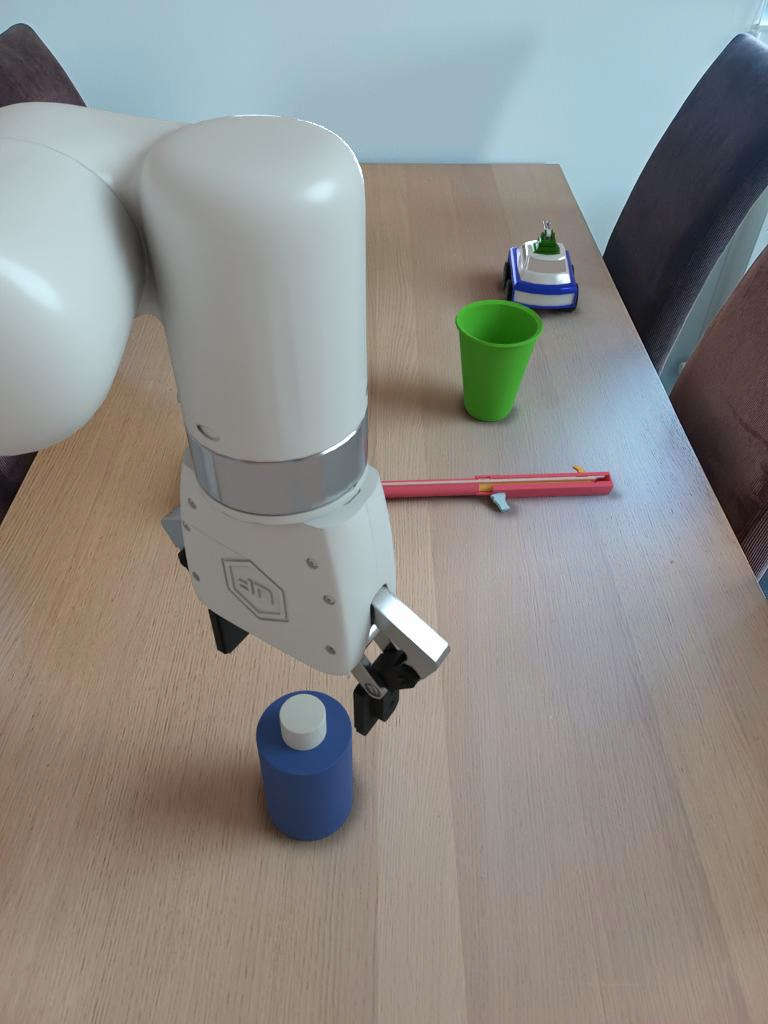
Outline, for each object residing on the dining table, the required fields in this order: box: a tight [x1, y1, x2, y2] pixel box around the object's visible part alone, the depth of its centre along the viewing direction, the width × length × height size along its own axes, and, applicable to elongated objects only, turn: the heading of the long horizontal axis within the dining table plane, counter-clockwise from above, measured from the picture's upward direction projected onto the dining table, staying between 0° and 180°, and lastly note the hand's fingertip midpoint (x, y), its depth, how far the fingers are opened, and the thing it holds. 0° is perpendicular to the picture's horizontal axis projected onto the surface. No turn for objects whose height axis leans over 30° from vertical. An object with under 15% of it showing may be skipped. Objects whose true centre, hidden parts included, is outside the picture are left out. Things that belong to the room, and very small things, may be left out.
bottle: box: [255, 689, 354, 842], centre depth 53 cm, size 6×6×11 cm
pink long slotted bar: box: [380, 465, 614, 513], centre depth 79 cm, size 24×2×5 cm
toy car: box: [502, 220, 580, 312], centre depth 105 cm, size 9×12×10 cm
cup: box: [454, 299, 544, 422], centre depth 86 cm, size 9×9×11 cm
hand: (304, 673), depth 46 cm, fingers open, 9 cm apart
